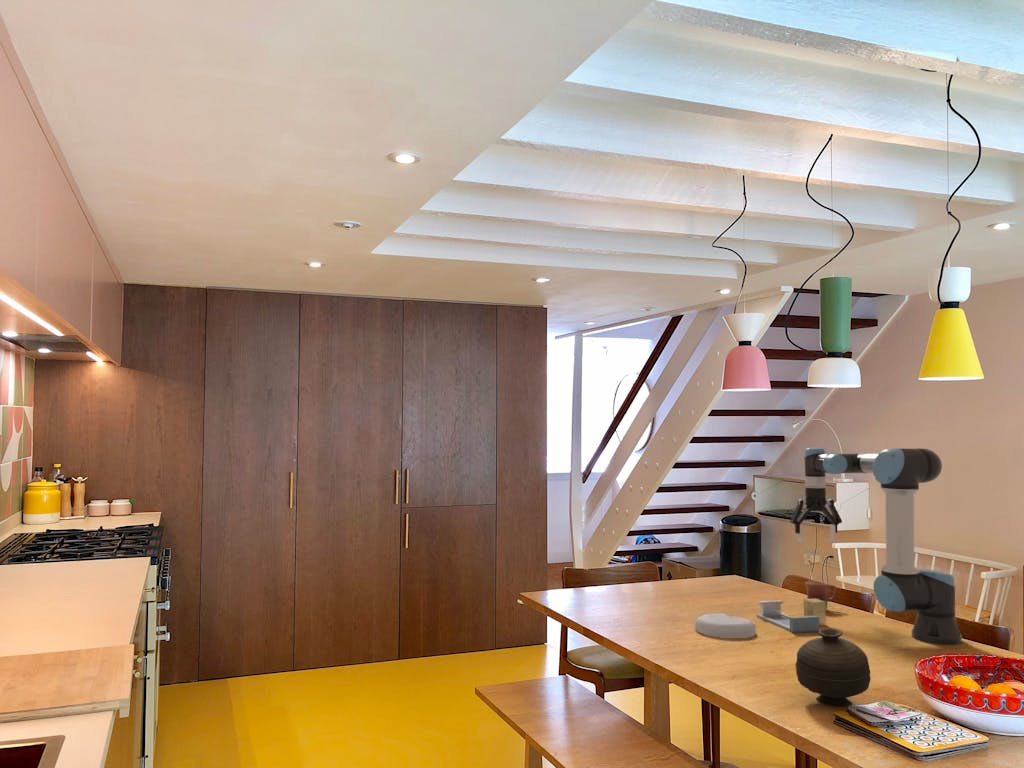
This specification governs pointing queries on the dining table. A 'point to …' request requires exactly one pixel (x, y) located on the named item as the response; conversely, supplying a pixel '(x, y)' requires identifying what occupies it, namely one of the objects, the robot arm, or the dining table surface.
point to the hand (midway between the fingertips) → (816, 541)
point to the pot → (833, 668)
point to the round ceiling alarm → (725, 626)
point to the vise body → (794, 622)
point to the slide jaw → (770, 607)
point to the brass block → (815, 609)
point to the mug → (819, 591)
